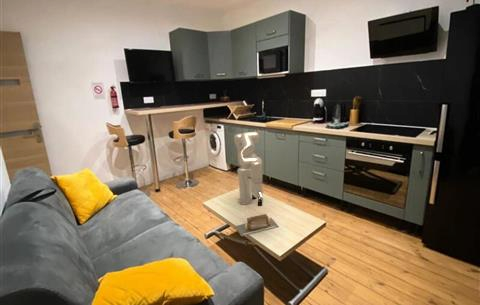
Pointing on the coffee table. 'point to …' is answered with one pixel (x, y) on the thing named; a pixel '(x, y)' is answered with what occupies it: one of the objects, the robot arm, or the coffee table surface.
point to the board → (244, 229)
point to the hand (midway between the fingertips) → (257, 202)
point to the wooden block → (257, 222)
